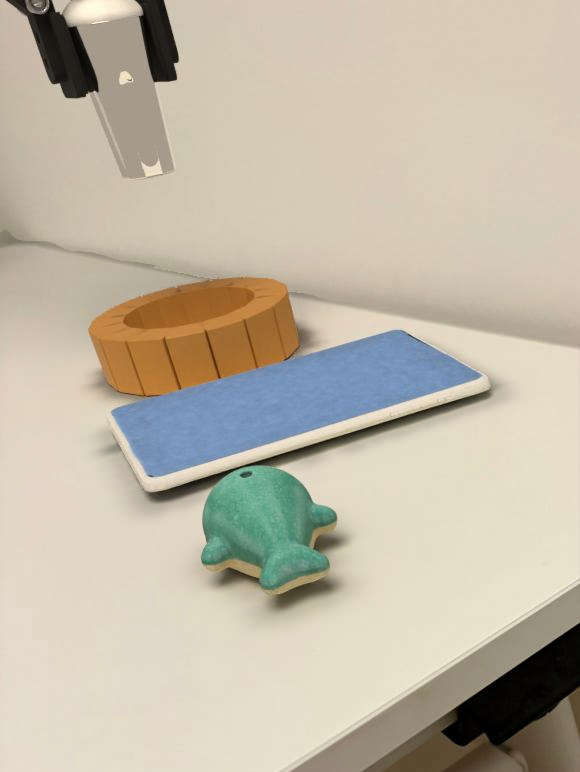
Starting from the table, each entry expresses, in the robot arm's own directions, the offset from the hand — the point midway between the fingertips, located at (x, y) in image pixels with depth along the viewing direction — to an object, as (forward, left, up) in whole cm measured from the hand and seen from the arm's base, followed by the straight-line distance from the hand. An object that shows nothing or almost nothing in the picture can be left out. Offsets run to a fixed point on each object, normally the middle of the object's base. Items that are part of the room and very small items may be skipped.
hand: (120, 85), depth 53 cm
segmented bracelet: (0, 0, -16) cm, 16 cm away
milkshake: (0, 0, -5) cm, 5 cm away
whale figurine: (+30, -8, -16) cm, 36 cm away
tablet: (+15, 0, -16) cm, 23 cm away
